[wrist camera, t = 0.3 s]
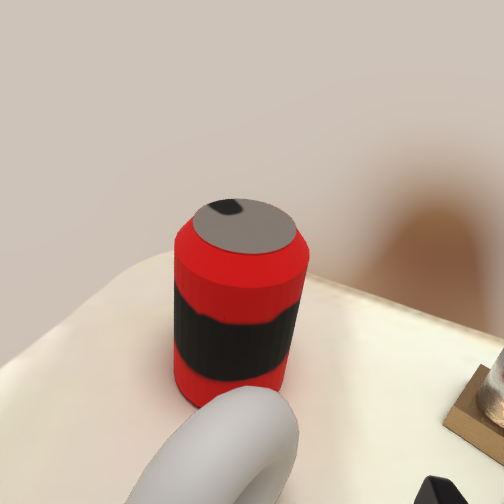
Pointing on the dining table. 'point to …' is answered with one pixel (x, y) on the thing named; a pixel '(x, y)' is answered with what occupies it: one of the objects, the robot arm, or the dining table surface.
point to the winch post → (482, 411)
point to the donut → (225, 453)
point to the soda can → (235, 297)
